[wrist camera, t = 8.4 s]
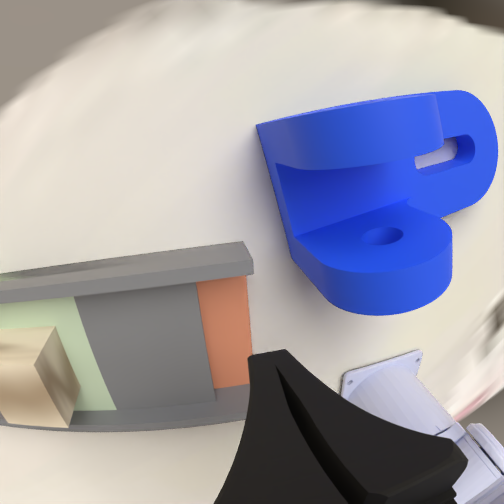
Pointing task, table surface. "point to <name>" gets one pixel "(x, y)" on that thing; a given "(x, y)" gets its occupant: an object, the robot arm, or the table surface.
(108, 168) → the table surface
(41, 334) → the block
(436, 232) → the bracket
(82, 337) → the box
